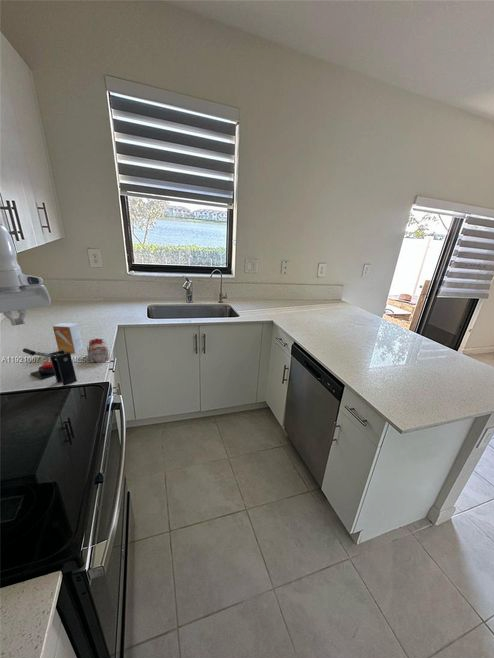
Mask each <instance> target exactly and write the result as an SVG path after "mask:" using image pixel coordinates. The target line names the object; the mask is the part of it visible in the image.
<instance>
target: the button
mask: <svg viewBox="0 0 494 658" xmlns="http://www.w3.org/2000/svg"><path fill="white" fill-rule="evenodd" d="M41 366H43V369H50V368H53V366H52V362H51V361H46V362H44V363H42V365H41Z"/></svg>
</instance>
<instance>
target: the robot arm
mask: <svg viewBox="0 0 494 658" xmlns="http://www.w3.org/2000/svg"><path fill="white" fill-rule="evenodd" d="M16 250H17V249H16V247H15V244H14V241H13V239H12V236H11V233H10V232H9V230H8V228H6V226H4V225H3V224H1V223H0V314H2V315H3V316H4V317H6V318H7V319H8V320H9V321H10V324H11V326H14V327H15V326H19V325H25V324H26V323H25V317H26V315H27V310H30V309H37V308H45V307H50V305H51V303H52V301H51V296H50V293H49V291H48V289H47V287H46V286H45V285H43V284H44V281H43V278H42V277H40V276H36V275H30V274H28V273H23V271H22V268H21V266H20V265H19V264H18V263H19V262H18V260H17V259H18V257H17V256H18V254H17V251H16ZM13 312H17V313H19V314H18V317H17V318H13V317H12V315H13Z"/></svg>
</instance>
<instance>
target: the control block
mask: <svg viewBox="0 0 494 658" xmlns="http://www.w3.org/2000/svg"><path fill="white" fill-rule="evenodd" d="M30 376H31V377H35V378H37V379H38V380H41V381H43V380H46V379H49V378H52V377H55V373H54V370H53V368H50V369H43V365H41V366H39V367H38V370H36V371H32V372H30Z"/></svg>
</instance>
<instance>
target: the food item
mask: <svg viewBox="0 0 494 658" xmlns="http://www.w3.org/2000/svg"><path fill="white" fill-rule="evenodd" d="M86 348H87V350H86V352H87V356H88V359H89V362H90V363H92V364H93V363H103V362H106V361H109V360H110V356H109V349H108V346H107V343H106V340H105V339H104V338H92V339H89V341H88V346H86Z"/></svg>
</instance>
